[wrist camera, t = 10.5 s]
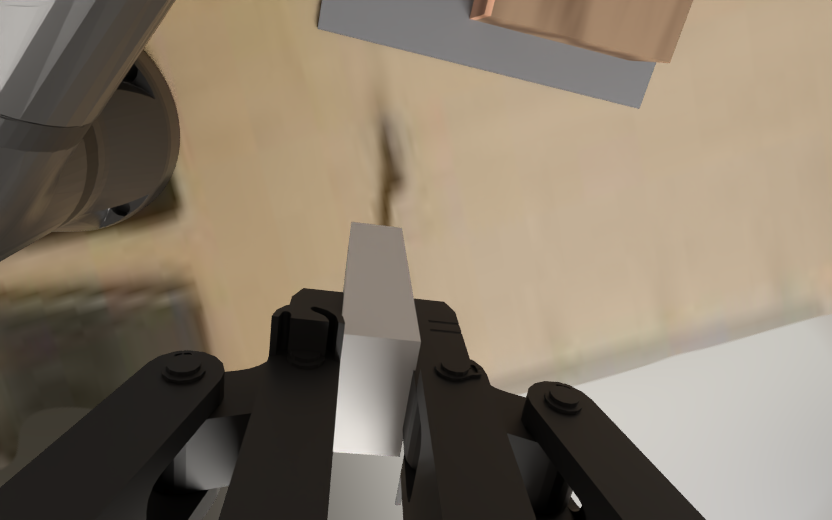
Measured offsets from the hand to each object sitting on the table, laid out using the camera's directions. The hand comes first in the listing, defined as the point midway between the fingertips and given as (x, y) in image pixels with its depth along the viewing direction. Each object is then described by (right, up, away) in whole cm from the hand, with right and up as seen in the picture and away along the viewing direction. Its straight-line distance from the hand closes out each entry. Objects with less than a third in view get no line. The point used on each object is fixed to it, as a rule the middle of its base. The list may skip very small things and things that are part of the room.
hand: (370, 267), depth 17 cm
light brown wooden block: (+6, +18, +18) cm, 26 cm away
